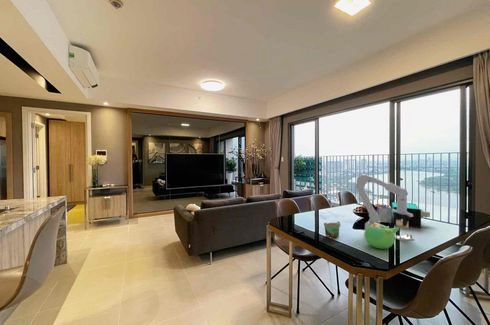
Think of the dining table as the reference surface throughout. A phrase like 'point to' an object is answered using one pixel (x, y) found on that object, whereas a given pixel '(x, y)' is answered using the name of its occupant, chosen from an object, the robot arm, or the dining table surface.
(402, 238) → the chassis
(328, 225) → the food container
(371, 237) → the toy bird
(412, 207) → the electronic device
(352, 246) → the dining table surface
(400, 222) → the birch block
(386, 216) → the ink cartridge box
